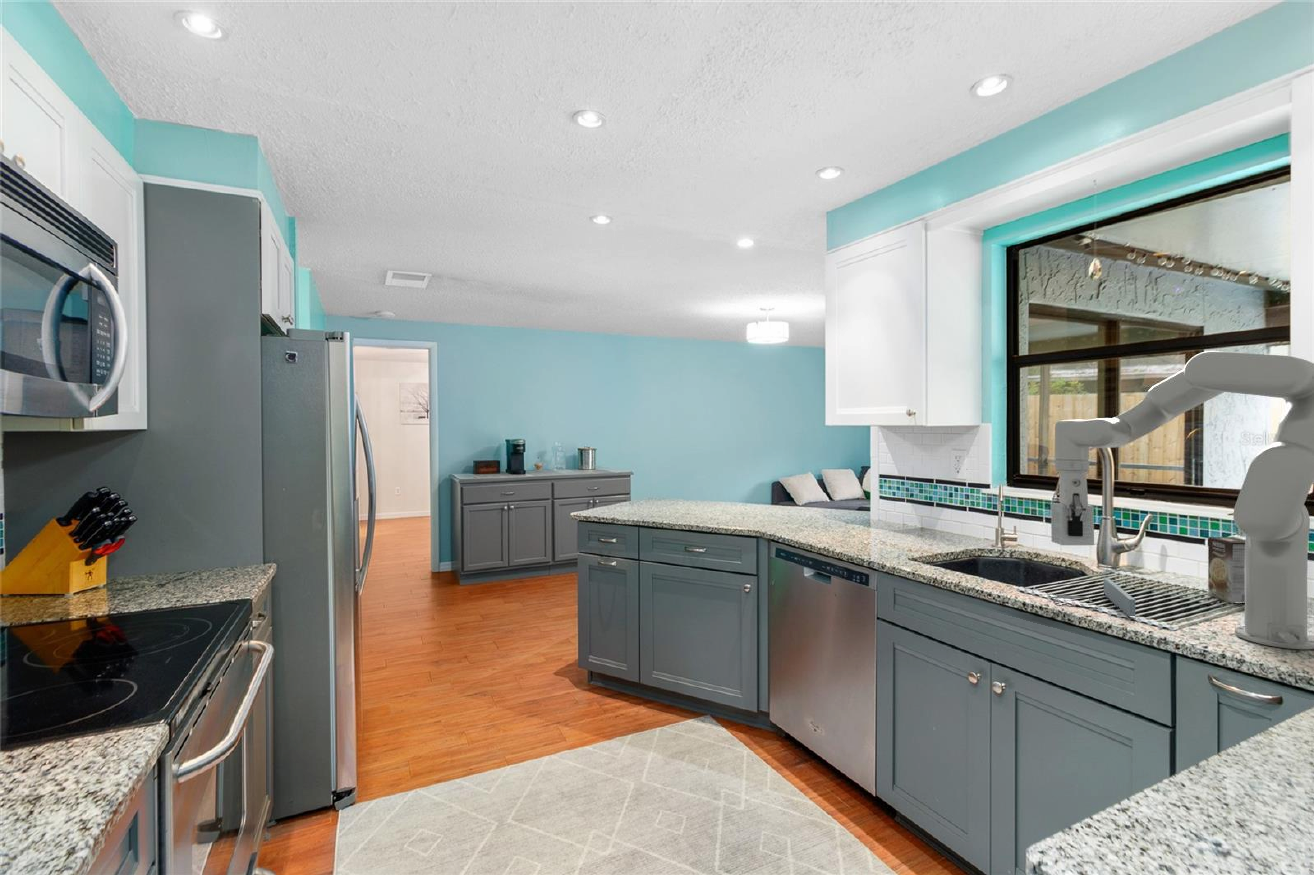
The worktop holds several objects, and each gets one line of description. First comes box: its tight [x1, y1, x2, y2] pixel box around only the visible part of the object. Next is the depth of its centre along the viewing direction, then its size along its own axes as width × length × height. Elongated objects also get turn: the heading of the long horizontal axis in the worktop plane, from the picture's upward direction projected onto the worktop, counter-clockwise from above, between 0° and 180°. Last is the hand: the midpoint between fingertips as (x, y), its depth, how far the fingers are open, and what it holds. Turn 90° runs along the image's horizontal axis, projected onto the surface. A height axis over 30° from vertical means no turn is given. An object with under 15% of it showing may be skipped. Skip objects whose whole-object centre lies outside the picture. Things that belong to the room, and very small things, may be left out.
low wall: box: [1103, 577, 1136, 617], centre depth 160 cm, size 24×1×4 cm, turn 156°
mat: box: [1051, 594, 1093, 607], centre depth 164 cm, size 11×9×1 cm
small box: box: [1050, 502, 1095, 546], centre depth 164 cm, size 8×6×10 cm
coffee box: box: [1207, 536, 1245, 604], centre depth 165 cm, size 9×6×16 cm
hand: (1072, 533), depth 164 cm, fingers closed on small box, 6 cm apart
